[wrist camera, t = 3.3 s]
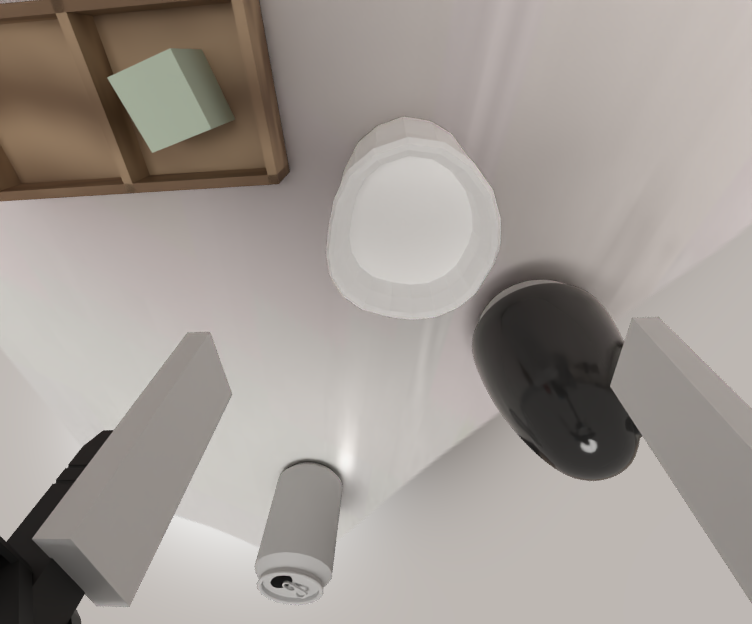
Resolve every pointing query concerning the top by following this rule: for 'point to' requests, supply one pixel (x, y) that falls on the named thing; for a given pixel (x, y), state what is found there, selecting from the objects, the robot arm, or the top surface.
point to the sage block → (172, 97)
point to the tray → (106, 111)
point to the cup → (411, 223)
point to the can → (300, 535)
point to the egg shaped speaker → (557, 376)
